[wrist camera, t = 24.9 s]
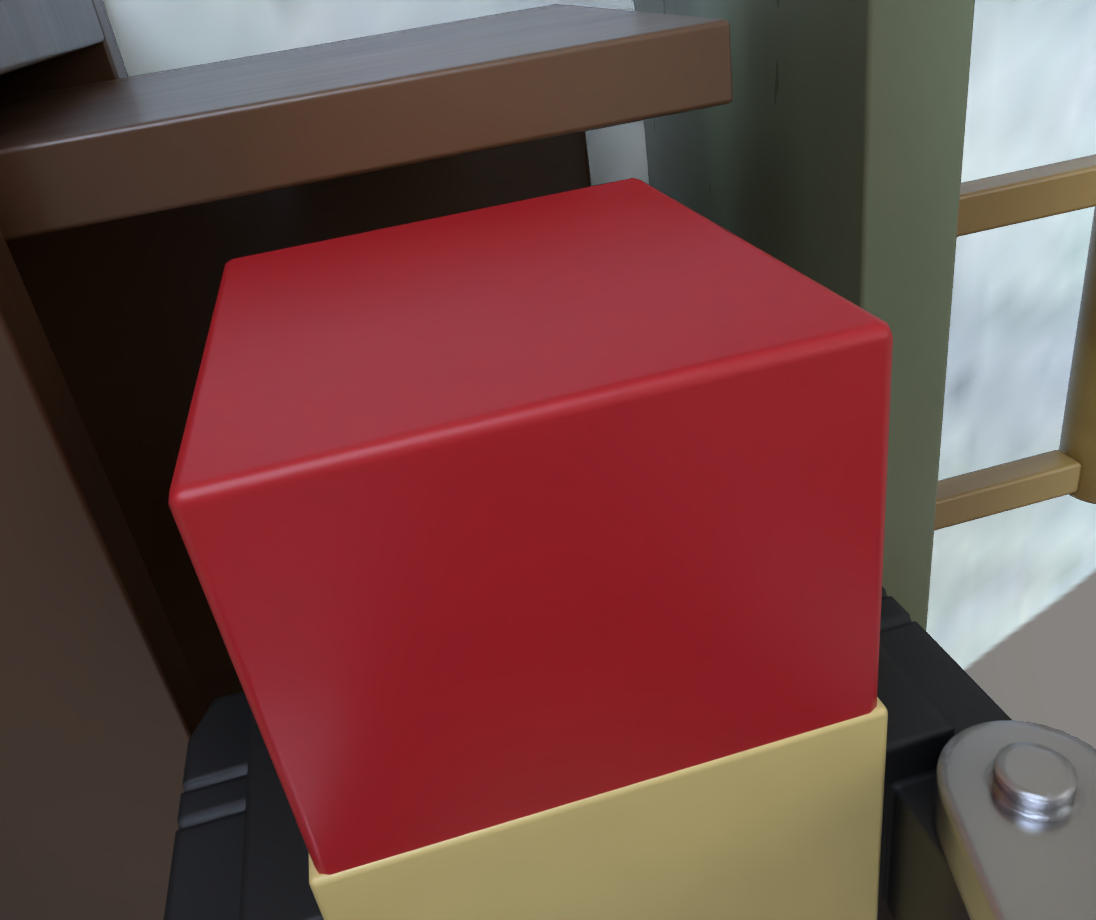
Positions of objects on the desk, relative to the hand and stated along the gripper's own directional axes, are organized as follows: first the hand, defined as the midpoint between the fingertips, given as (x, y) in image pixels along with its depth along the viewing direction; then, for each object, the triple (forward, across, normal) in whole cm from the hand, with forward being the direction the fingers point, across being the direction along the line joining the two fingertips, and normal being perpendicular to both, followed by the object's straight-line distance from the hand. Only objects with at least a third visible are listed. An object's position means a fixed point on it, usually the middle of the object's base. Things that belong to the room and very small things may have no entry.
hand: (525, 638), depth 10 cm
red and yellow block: (+1, 0, 0) cm, 1 cm away
